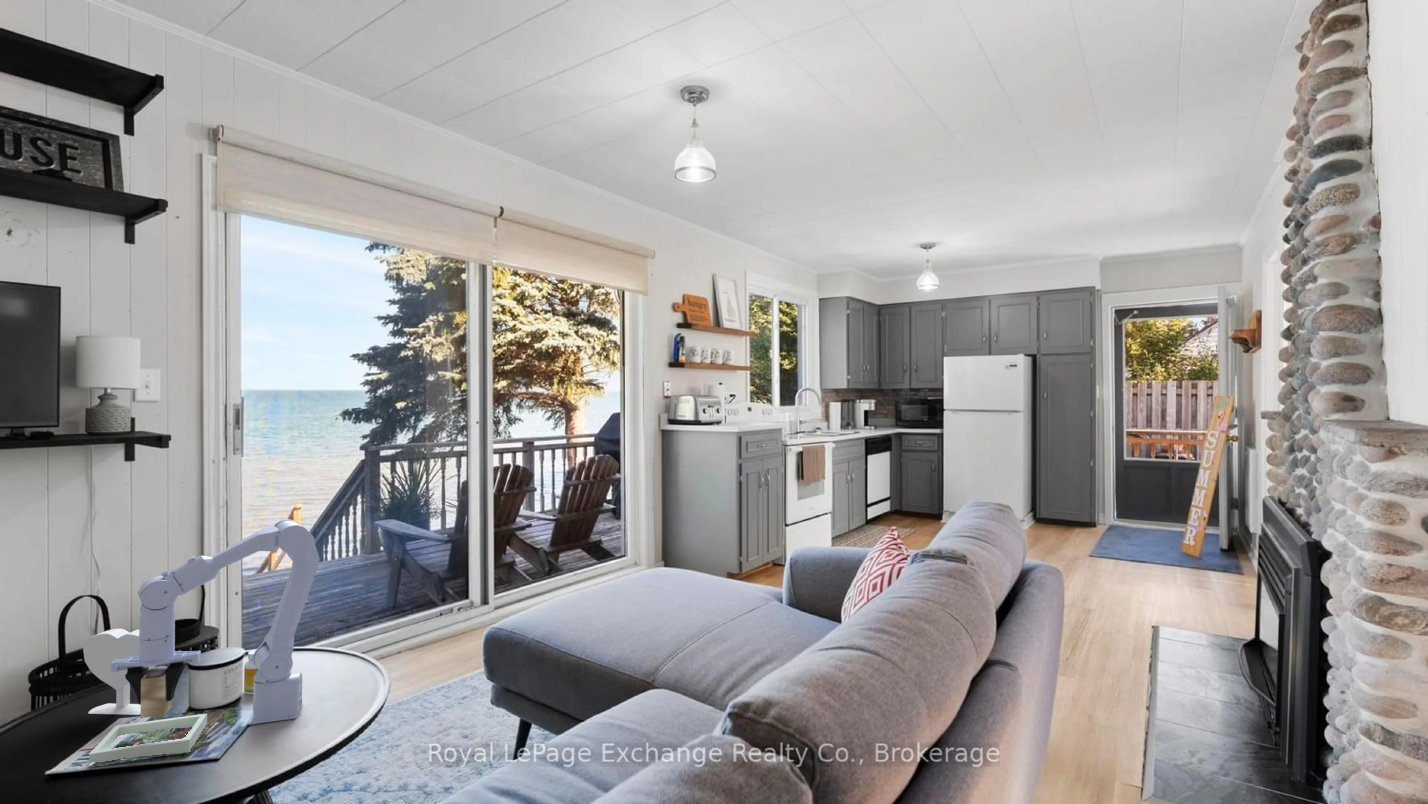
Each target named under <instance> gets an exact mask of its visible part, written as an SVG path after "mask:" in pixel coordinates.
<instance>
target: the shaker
mask: <svg viewBox="0 0 1428 804" xmlns="http://www.w3.org/2000/svg"><path fill="white" fill-rule="evenodd" d="M167 668H168V666H167V665H164V666H155V667H154V668H151V669H148V670H147V671H146V675H145V676H144V677H143V678H142V679H141V714H140V719H146V718H154V717H160V716H161V717H162V716H166V714H167V713H168V712H169V711H170V709H171V708H172V705H173V703H172V700H173V699H172V700H171V701H167V699H166V693H167V681H166V674H165V670H166V669H167Z"/></svg>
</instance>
